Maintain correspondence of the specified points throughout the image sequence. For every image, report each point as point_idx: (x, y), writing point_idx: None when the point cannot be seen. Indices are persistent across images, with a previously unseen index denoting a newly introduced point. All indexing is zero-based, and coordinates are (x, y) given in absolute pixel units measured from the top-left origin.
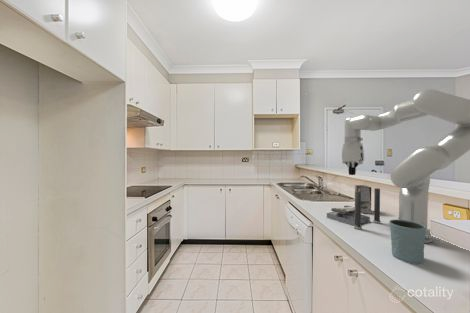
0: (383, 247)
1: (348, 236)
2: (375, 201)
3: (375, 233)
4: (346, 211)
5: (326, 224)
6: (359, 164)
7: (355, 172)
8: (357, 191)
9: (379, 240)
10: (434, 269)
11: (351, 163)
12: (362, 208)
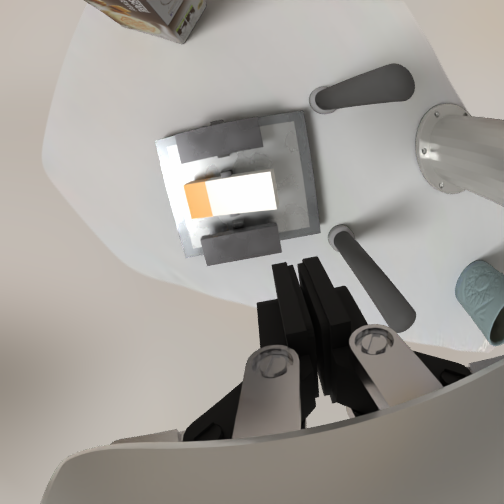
0: (438, 285)
1: (365, 312)
2: (358, 104)
3: (391, 220)
4: (276, 237)
5: None
6: (473, 370)
7: (346, 291)
8: (398, 319)
9: (420, 258)
10: None
11: (295, 424)
12: (182, 29)
